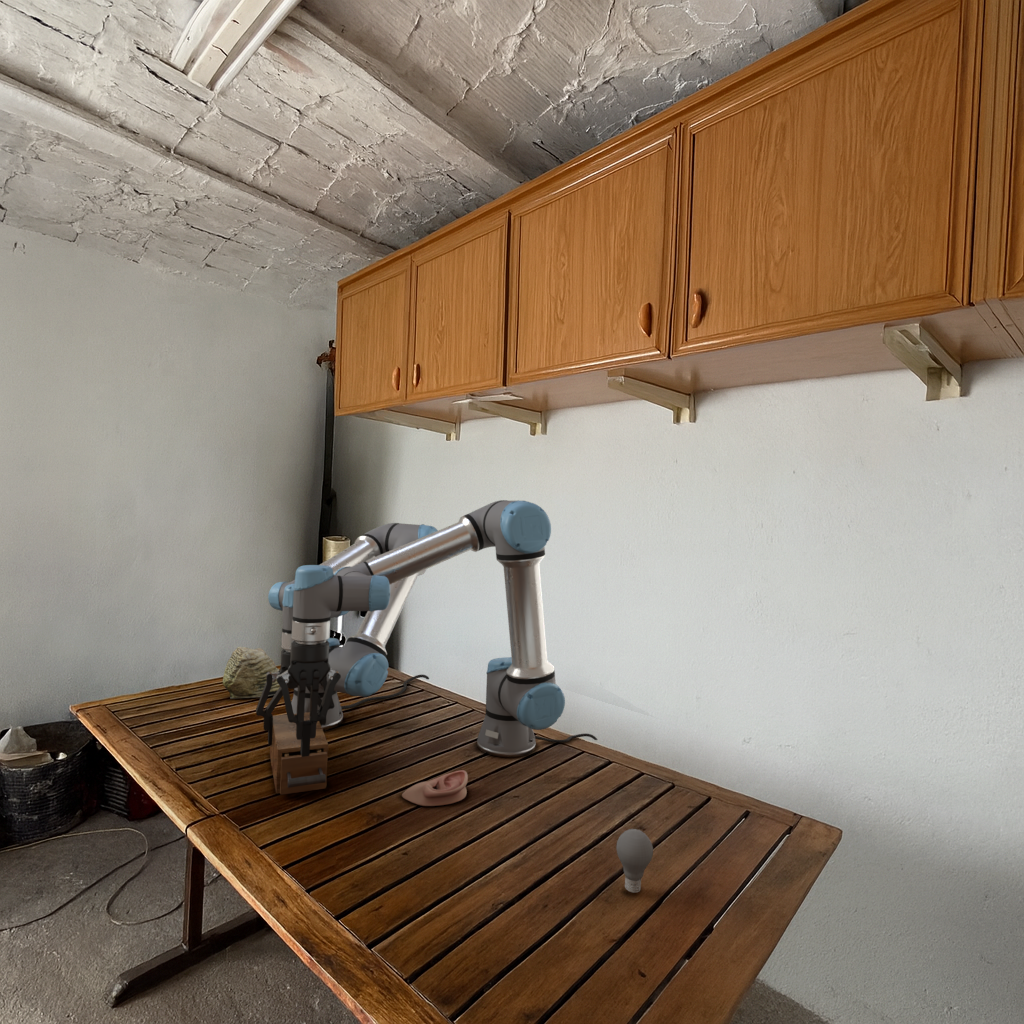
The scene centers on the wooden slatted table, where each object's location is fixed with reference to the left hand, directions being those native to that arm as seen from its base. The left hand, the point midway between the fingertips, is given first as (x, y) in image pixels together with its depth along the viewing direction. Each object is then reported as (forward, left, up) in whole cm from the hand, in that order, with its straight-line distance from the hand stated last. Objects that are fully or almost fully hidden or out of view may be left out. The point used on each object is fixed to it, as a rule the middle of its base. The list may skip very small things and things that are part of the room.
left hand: (294, 740), depth 152 cm
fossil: (-18, -51, -4) cm, 54 cm away
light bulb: (-9, +86, -4) cm, 86 cm away
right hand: (+11, +20, +6) cm, 23 cm away
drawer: (+6, +11, -3) cm, 13 cm away
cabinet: (+3, +6, -4) cm, 8 cm away
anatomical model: (-10, +38, -4) cm, 39 cm away
